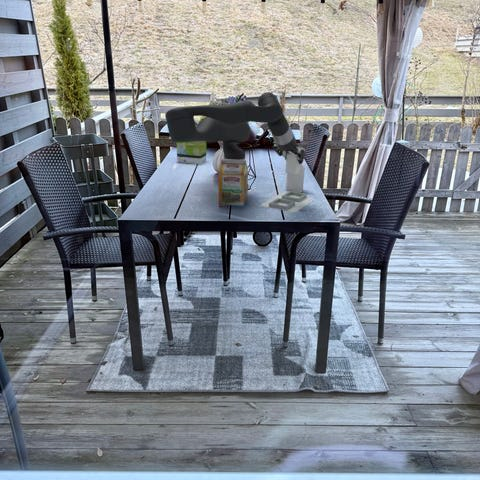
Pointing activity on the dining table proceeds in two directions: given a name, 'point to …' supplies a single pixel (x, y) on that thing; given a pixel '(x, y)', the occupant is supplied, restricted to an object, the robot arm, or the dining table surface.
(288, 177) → the pill bottle
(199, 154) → the tea box
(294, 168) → the plug
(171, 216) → the dining table surface
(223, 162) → the milk carton
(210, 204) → the dining table surface
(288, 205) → the panel
